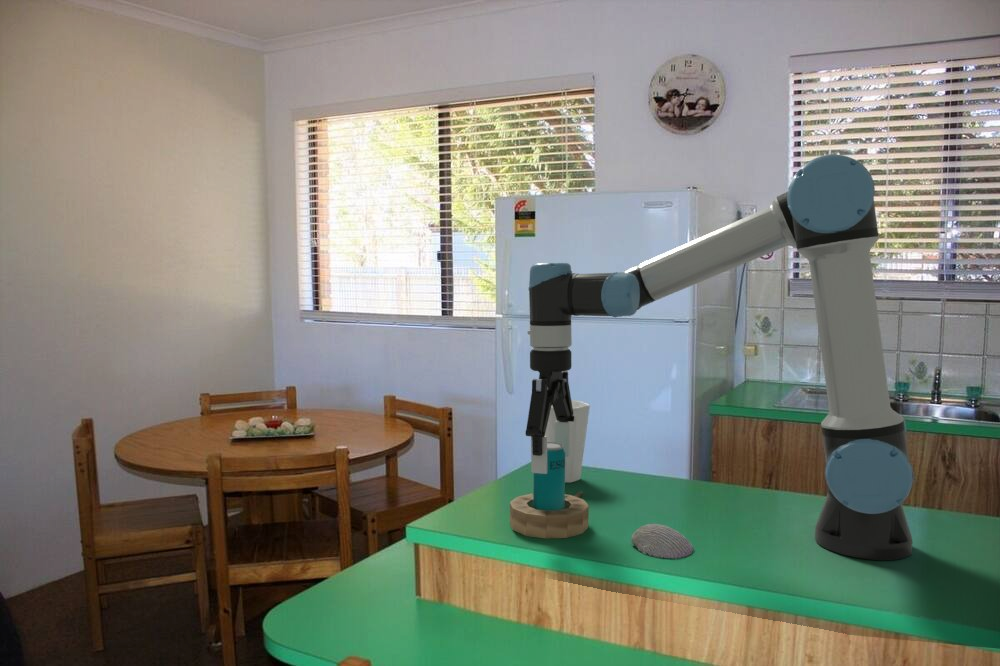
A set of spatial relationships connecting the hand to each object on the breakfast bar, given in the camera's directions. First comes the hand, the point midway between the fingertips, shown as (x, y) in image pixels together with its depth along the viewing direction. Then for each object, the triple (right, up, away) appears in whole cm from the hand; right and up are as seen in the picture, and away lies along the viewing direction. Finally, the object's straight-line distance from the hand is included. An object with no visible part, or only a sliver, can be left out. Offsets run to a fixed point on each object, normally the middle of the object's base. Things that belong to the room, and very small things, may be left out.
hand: (551, 464), depth 141 cm
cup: (+5, -9, +33) cm, 35 cm away
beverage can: (0, -12, +1) cm, 12 cm away
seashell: (+18, -13, -10) cm, 24 cm away
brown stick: (+5, -10, +14) cm, 18 cm away
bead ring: (0, -11, +1) cm, 12 cm away
